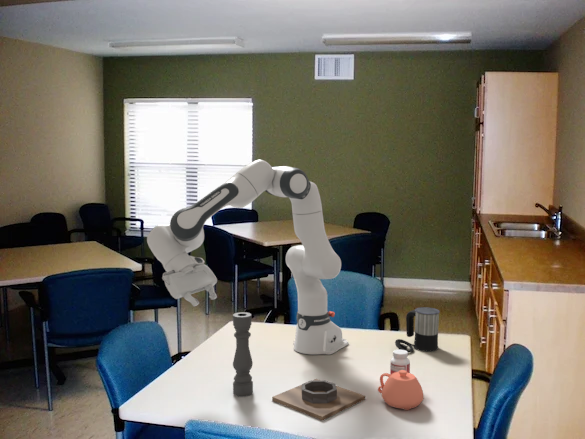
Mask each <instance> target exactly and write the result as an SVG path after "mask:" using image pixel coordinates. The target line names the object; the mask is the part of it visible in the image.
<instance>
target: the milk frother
mask: <svg viewBox="0 0 585 439" xmlns="http://www.w3.org/2000/svg"><path fill="white" fill-rule="evenodd" d="M440 312H441V311H440V310H439V309H437V308H434V307H427V306H425V307H424V306H420V307H417V308H415V309H413V310H412V309H411V310H410V311H408V312H407V314H406V316H405V323H406V324H405V325H406V328H405V329H406V330H405V331H406V336H407V338H411V337H414V340H413V344H412V343H410V342H409V341H406V340H404V339H400V338H398V339H397V338H396V340H395V342H394V343H395V346H396V349H397V350H398V349H401V350H406V351H407V352H408V353H411V352H413V351H414V349H415V350H418V351H421V352H435V351H438V350H439V343H438V342H439V321H440V320H439V319H440V318H439V317H440ZM414 321H415V322H414Z"/></svg>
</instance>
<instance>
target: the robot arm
mask: <svg viewBox="0 0 585 439" xmlns="http://www.w3.org/2000/svg"><path fill="white" fill-rule="evenodd" d="M264 192H266V193H267V194H269V195H272V196H275V197H279V198H288V199H289V201H290V203H291V210H292V211H291V212H292V221H293V230H294V231H293V232H294V234H295V236H296V238H298V239H299V240H300V242H301V244H297V245H293V246H291V247H290V248H289V249H288V250H287V252H286V254H285V264H286V266H287V267H288V268H289V270H290V272H291V275H292V276H293V279H294V283H295V286H296V291H297V312H296V328H295V337H294V340H293V350H294V351H295V352H297V353H300V354H303V355H333V354H334V353H336V352H337V351H340V350H341V349H343V348H344V347H346V346H348V345H349V340H347V339H345V338H343V332H342V329H341V327H340V326H338V325H337V324H336V323H334V322H333V321H332V320H331V318H334V317H335V314H336V313H335V311H331V310H329V311H328V291H327V289H326V288H325V287H324V285H323V282H322V281H321V280H331V279H332V280H333V279H334V278H337V276H338V275H339V274H340V272H341V269H342V260H341V258H340V256H339V254H337V253H336V252H335V250H334V249H333V247H332V245H331V242H330V241H329V238H328V235H327V232H326V229H325V228H326V227H325V222H324V215H323V205H322V200H321V195H320V190H319V188H318V185H317V184H316V183H315V182H314V181H313V182H312V181H311V180H310V179H309V178H308V175H307V174H306V172H305V171H304V170H302V169H301V168H298V167H294V166H293V167H292V166H289V165H282V166H279V165H277V166H276V165H273V166H272V165H271V164H270V163H269V162H267V161H266V160H263V159H256V160H254V161H251V162H250V163H248V164H246V165H245V166H243V167H242V168H241V169H239V170H238V171H237V172H235V173H234V175H231V177H230V178H229V179H227V180H226V181H225V182H224V183H222V184H221V185H219V186H218V187H216V188H215V189H213V190H212V191H210V192H209V193H208V194H207V195H205V196H204V197H202V198H201V199H199V200H198V201H197V202H195V203H194V204H192V205H189V206H187V207H184V208H181V209H179V210H177V211H176V212H174V214H173V215H172V217H171V219H170V221H169V222H170V223H169V224H157V225H155V226H154V227H153V228H152V229H151V230H150V231H149V232H148V234H147V236H146V242H147V245H148V248H149V249H150V251H151V252H152V254H153V256H154V257H155V258H156V259H157V261H159V262H160V263H161V265H162V267H163V269H164V270H165V272H163V273H162V277H161V279H162V281H164V285H165V287H166V289H167V291H168V292H169V294H170V296H171V297H172V298H174V299H175V300H178V299H181V298H184V300H186V301H187V302H189V303H190V304H191V305H192V307H197V306H198V305H199V304H200V301H199V300H198V298H195V297H194V296H192V295H193V294H196V293H199V292H203V291H206V292H208V294H209V296H208V298H210V300H216V299H217V298H218V295H217V294H216V292H215V291H216V290H215V288H214V287H215V285H216V284H217V282H218V278H217V277H216V275H215V273H214V272H213V270H212V269H211V268H210V267H209V266H208V265H207V264H205V261H206V260H204V259H203V258H202V257H197V256H193V255H189V253H192V252H193V251H195V250H197V249H198V248H200V247H201V246H202V245H203V243H204V241H205V230H204V226H205V223H206V222H207V221H208V220H209V219H210V218H211V217H213V216H214V215H215V214H217V213H218V212H219V211H221V210H222V209H223V208H225V207H228V206H230V207H233V208H237V209H242V208H245V207H246V206H248V205H249V204H251V203H252V202H254V201H255V200H256V199H257V198H258V197H259V196H261V195H262V193H264Z"/></svg>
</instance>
